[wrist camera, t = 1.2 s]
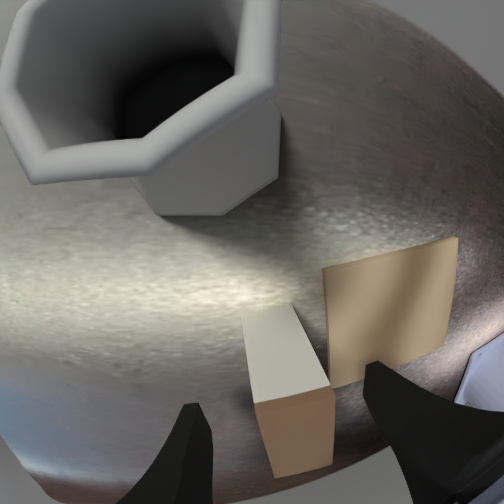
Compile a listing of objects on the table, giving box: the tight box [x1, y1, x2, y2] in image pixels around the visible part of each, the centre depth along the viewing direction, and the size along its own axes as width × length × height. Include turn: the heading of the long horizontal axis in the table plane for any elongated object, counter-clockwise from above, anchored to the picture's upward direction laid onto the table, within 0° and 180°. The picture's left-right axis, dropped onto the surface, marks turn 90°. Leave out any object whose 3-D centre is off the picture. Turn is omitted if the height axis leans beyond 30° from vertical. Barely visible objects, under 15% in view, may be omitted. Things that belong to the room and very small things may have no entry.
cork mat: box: [322, 236, 458, 389], centre depth 15 cm, size 9×8×1 cm
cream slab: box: [241, 304, 336, 478], centre depth 11 cm, size 2×5×6 cm, turn 10°
